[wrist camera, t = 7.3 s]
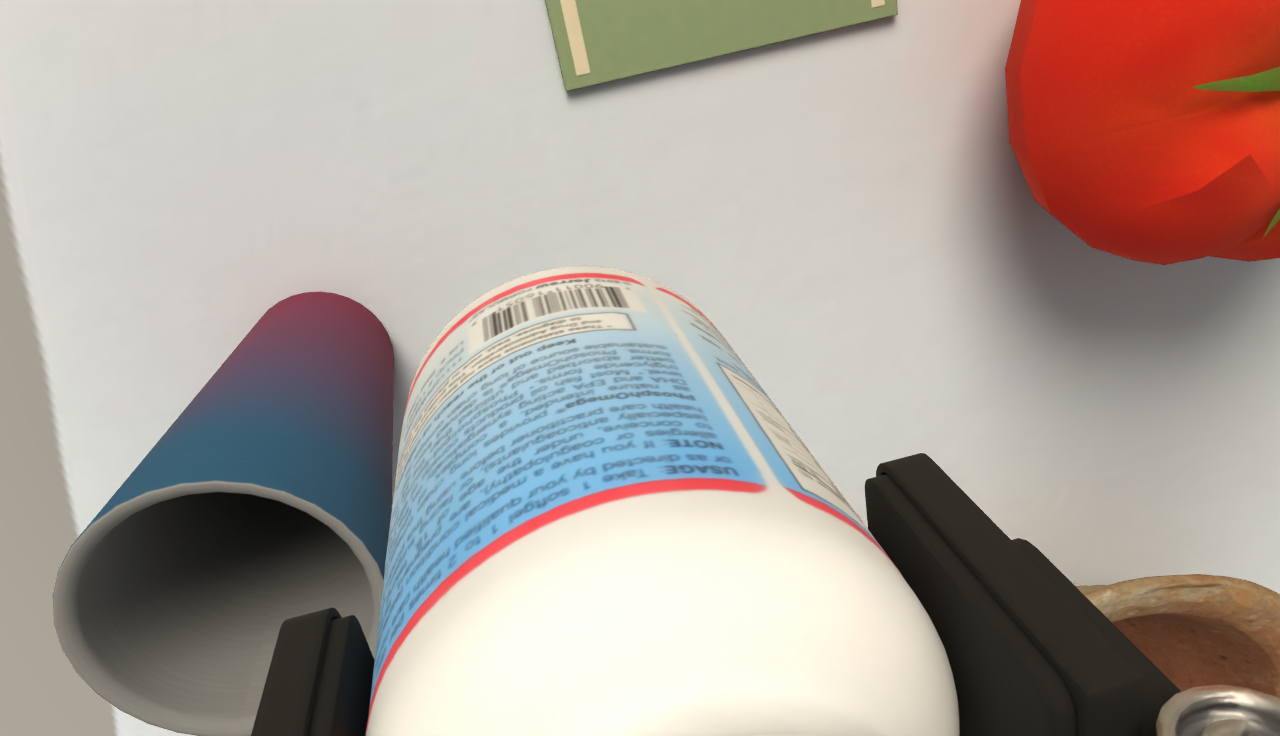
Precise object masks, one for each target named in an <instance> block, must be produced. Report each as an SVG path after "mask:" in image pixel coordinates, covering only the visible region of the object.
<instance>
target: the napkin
mask: <svg viewBox="0 0 1280 736" xmlns="http://www.w3.org/2000/svg"><path fill="white" fill-rule="evenodd" d="M545 2H546V6H547V10H548V15H549V19H550V24H551V28H552V33H553V37H554V41H555V46H556V50H557V55H558V59H559V64H560V68H561V73H562V77H563V81H564V86H565V90H566V91H570V90H575V89H579V88H583V87H588V86H592V85H596V84H600V83H605V82H609V81H613V80H618V79H622V78H626V77H631V76H635V75H639V74H644V73H648V72H652V71H657V70H661V69H665V68H670V67H674V66H678V65H682V64H687V63H691V62H695V61H700V60H704V59H708V58H713V57H717V56H721V55H726V54H730V53H734V52H739V51H743V50H747V49H751V48H756V47H760V46H764V45H769V44H773V43H777V42H782V41H786V40H790V39H795V38H799V37H803V36H808V35H812V34H816V33H821V32H825V31H829V30H833V29H838V28H842V27H846V26H851V25H855V24H859V23H864V22H868V21H872V20H877V19H881V18H885V17H890V16H894V15H897V14H898V12H897V0H545Z"/></svg>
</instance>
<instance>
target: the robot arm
mask: <svg viewBox="0 0 1280 736" xmlns="http://www.w3.org/2000/svg"><path fill="white" fill-rule="evenodd" d="M865 497H866V509H867V520H868V530H869V531H870V533H871V534H872V535H873V537H874V538H875V540H876V541H877V542H878V544H879V545H880V546H881V547H882V548H883V550H884V551H885V552H886V554H887V555H888V557H889V558H890V559H891V561H892V562H893V563H894V565H895V566H896V567H897V568H898V570H899V571H900V573H901V575H902V576H903V578H904V579H905V581H906V582H907V584H908V585H909V586H910V588H911V589H912V590H913V592H914V593H915V595H916V596H917V598H918V599H919V601H920V603H921V604H922V606H923V607H924V609H925V610H926V612H927V614H928V615H929V617H930V619H931V621H932V623H933V625H934V627H935V629H936V630H937V633H938V635H939V637H940V639H941V641H942V644H943V646H944V648H945V651H946V654H947V657H948V660H949V663H950V667H951V670H952V673H953V678H954V683H955V688H956V693H957V699H958V708H959V727H960V735H959V736H1280V698H1278V697H1276V696H1273V695H1270V694H1266V693H1263V692H1260V691H1257V690H1253V689H1250V688H1245V687H1237V686H1228V685H1209V686H1198V687H1193V688H1191V689H1188V690H1185V691H1183V692H1182V691H1181V690H1180V689H1179V688H1178V687H1177V686H1176V685H1175V684H1174V683H1173V682H1172V681H1171V680H1170V679H1169V678H1168V677H1167V676H1165V675H1164V674H1163V673H1162V672H1161V671H1160V670H1159V669H1158V668H1157V667H1156V666H1155V665H1154V664H1153V663H1152V662H1151V661H1150V660H1149V659H1148V658H1147V657H1146V656H1145V655H1144V654H1143V653H1142V652H1141V651H1140V650H1139V649H1138V648H1137V647H1136V646H1135V645H1134V644H1133V643H1132V642H1131V641H1130V640H1129V639H1128V638H1127V637H1126V636H1125V635H1124V634H1123V633H1122V632H1121V631H1120V630H1119V629H1118V628H1117V627H1116V626H1115V625H1114V624H1113V623H1112V622H1111V621H1110V620H1109V619H1108V618H1107V617H1106V616H1105V615H1104V614H1103V613H1102V612H1101V611H1100V610H1099V609H1098V608H1097V607H1096V606H1095V605H1094V604H1093V603H1092V602H1091V601H1090V600H1089V599H1088V598H1087V597H1086V596H1085V595H1084V594H1083V593H1082V592H1081V591H1080V590H1078V589H1077V588H1076V587H1075V586H1074V585H1073V584H1072V583H1071V582H1070V581H1069V580H1068V579H1067V578H1066V577H1065V576H1064V575H1063V574H1062V573H1061V572H1060V571H1059V570H1058V569H1057V568H1056V567H1055V566H1054V565H1053V564H1052V563H1051V562H1050V561H1049V560H1048V559H1047V558H1046V557H1045V556H1044V555H1043V554H1042V553H1041V552H1040V551H1039V550H1038V549H1037V548H1036V547H1035V546H1033V545H1032V544H1031V543H1029V542H1028V541H1027V540H1023V539H1019V538H1018V539H1014V540H1010V539H1009V538H1008V537H1007V536H1006V535H1005V534H1004V533H1003V532H1002V530H1001V529H1000V528H999V527H998V526H997V525H996V524H995V523H994V522H993V521H992V520H991V519H990V518H989V517H988V516H987V515H986V514H985V513H984V512H983V511H982V510H981V509H980V508H979V507H978V506H977V505H976V504H975V503H974V502H973V501H972V500H971V499H970V498H969V497H968V496H967V495H966V494H965V493H964V492H963V491H962V490H961V489H960V488H959V487H958V486H957V485H956V484H955V483H954V482H953V481H952V479H951V478H950V477H949V476H948V475H947V474H946V473H945V472H944V471H943V470H942V469H941V468H940V467H939V466H938V465H937V464H936V463H935V462H934V461H933V460H932V459H931V458H930V457H929V456H927V455H926V454H923V453H920V454H916V455H912V456H908V457H904V458H900V459H897V460H893V461H889V462H885V463H881V464H880V465H879V466H878V467H877V471H876V477H874V478H870V479H867V480H866V483H865ZM374 662H375V660H374V657H373V655H372V652H371V650H370V647H369V645H368V643H367V640H366V638H365V635H364V633H363V630H362V628H361V625H360V623H359V621H358V619H357V618H356V616H354V615H350V616H346V617H343V618H342V617H341V615H340V613H339V612H338V611H337V610H336V609H335V608H328V609H324V610H320V611H316V612H313V613H309V614H305V615H301V616H297V617H294V618H290V619H286V620H285V621H284V622H283V623H282V625H281V628H280V631H279V635H278V638H277V642H276V646H275V649H274V653H273V657H272V660H271V664H270V668H269V671H268V675H267V678H266V682H265V686H264V689H263V693H262V697H261V700H260V704H259V708H258V711H257V715H256V719H255V722H254V726H253V730H252V733H251V736H366V728H367V722H368V716H369V707H370V698H371V689H372V679H373V670H374Z"/></svg>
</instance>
